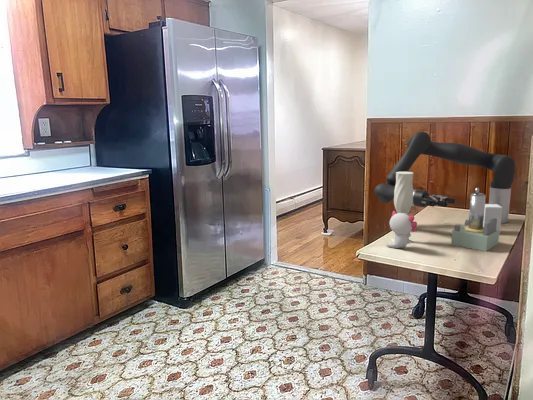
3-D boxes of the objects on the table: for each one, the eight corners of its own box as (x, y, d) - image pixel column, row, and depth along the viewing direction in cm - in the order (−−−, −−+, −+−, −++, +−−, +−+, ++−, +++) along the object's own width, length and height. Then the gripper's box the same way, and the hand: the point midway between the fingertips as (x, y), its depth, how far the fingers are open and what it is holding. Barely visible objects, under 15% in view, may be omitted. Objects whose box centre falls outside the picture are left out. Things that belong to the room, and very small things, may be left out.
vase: (388, 238, 197) (391, 171, 191) (406, 237, 198) (409, 171, 192) (395, 244, 188) (398, 174, 182) (414, 243, 189) (418, 173, 183)
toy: (420, 251, 179) (422, 215, 176) (406, 254, 175) (407, 217, 172) (395, 242, 190) (396, 208, 187) (381, 245, 187) (382, 211, 184)
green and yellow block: (464, 237, 196) (466, 213, 194) (498, 243, 187) (500, 218, 184) (451, 244, 187) (452, 219, 184) (485, 251, 177) (488, 224, 175)
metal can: (471, 225, 189) (474, 185, 186) (485, 227, 185) (488, 187, 182) (466, 228, 185) (469, 187, 182) (479, 230, 181) (483, 189, 178)
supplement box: (500, 234, 200) (503, 207, 197) (482, 234, 201) (485, 206, 198) (495, 230, 207) (498, 203, 204) (478, 229, 208) (480, 203, 206)
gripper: (408, 191, 196) (444, 196, 185) (423, 187, 206) (458, 191, 195) (408, 208, 198) (443, 214, 187) (422, 203, 208) (457, 208, 197)
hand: (451, 202), depth 191 cm, fingers open, 8 cm apart
